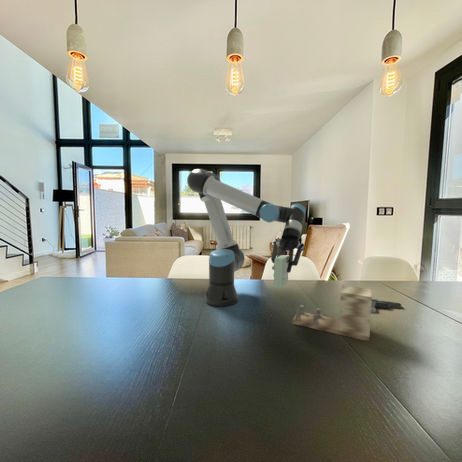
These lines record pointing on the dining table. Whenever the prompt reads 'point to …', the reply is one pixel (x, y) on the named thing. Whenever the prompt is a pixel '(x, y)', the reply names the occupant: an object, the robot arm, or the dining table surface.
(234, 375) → the dining table surface
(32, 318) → the dining table surface
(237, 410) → the dining table surface
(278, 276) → the pale green block
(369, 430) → the dining table surface
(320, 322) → the wooden rack
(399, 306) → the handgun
